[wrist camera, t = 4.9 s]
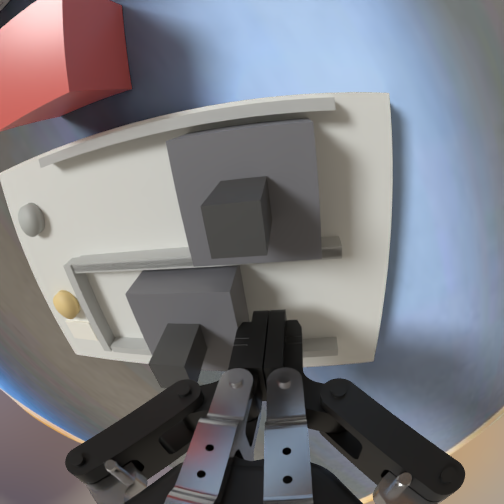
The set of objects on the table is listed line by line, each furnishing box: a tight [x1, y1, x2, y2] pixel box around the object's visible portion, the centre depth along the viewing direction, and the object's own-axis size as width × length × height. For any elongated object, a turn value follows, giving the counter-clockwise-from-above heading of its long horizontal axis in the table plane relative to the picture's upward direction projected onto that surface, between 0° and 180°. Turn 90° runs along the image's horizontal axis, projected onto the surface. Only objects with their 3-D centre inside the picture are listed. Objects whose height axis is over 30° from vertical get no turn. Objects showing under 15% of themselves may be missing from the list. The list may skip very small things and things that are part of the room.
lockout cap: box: [0, 0, 132, 131], centre depth 10 cm, size 5×5×5 cm
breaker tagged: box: [125, 265, 250, 388], centre depth 14 cm, size 5×5×5 cm
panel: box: [0, 92, 393, 367], centre depth 14 cm, size 22×15×7 cm
